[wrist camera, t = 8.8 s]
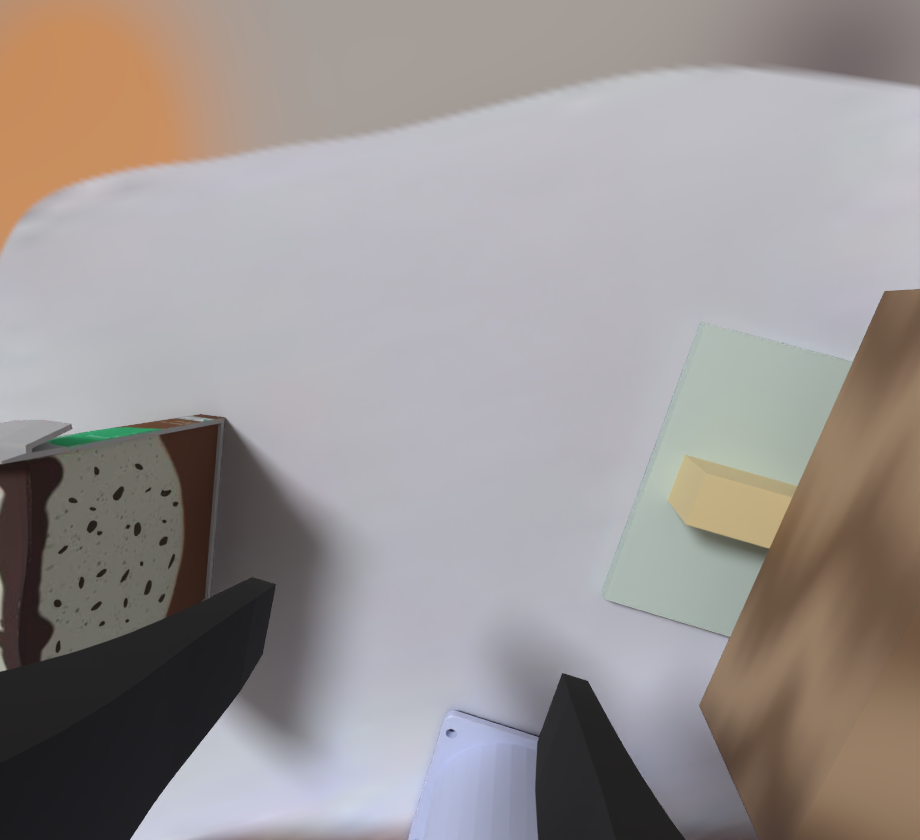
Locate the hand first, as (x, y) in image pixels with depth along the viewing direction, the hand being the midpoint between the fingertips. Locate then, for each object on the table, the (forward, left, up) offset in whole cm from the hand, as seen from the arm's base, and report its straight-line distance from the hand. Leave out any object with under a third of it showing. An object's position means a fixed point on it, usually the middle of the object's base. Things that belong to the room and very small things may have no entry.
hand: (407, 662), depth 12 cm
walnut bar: (+4, -13, -7) cm, 16 cm away
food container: (-4, +14, -11) cm, 18 cm away
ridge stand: (+4, -13, -10) cm, 17 cm away
